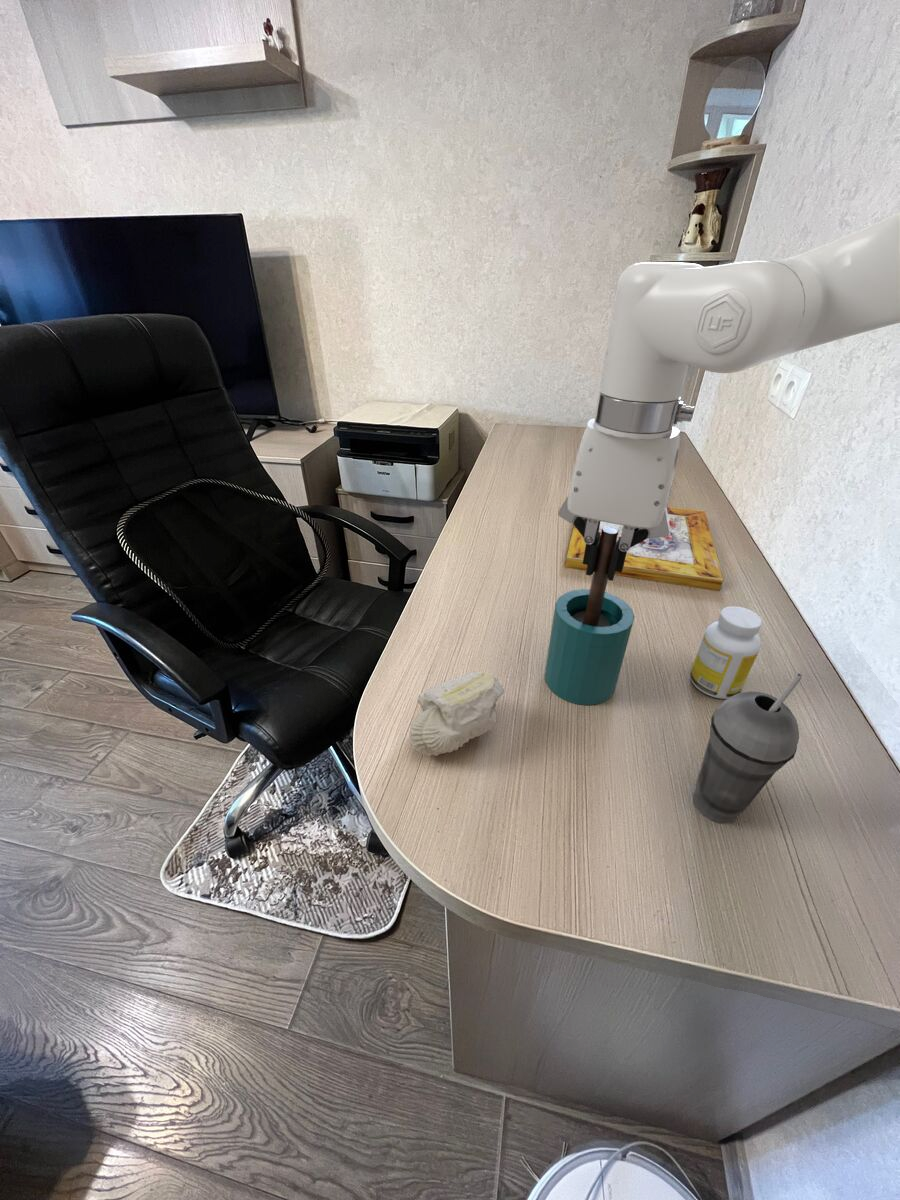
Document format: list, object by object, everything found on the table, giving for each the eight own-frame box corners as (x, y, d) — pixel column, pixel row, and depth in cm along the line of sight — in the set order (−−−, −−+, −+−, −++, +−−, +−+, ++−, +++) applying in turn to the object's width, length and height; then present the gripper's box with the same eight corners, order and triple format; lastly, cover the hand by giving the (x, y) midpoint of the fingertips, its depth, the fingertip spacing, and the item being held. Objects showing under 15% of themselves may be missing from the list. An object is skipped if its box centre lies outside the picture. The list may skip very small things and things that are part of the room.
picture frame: (705, 511, 111) (723, 580, 87) (702, 520, 112) (719, 590, 88) (580, 496, 117) (566, 557, 94) (579, 504, 118) (565, 567, 95)
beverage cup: (715, 767, 58) (781, 631, 46) (769, 822, 52) (859, 683, 41) (665, 787, 56) (721, 649, 44) (715, 846, 50) (794, 706, 39)
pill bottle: (742, 679, 70) (773, 611, 63) (736, 708, 65) (769, 639, 59) (693, 662, 73) (717, 596, 66) (684, 689, 68) (709, 621, 62)
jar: (620, 668, 72) (639, 599, 65) (608, 714, 64) (627, 642, 58) (555, 650, 75) (565, 582, 68) (536, 691, 68) (546, 621, 61)
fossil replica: (392, 749, 60) (465, 789, 56) (389, 707, 54) (470, 748, 51) (442, 682, 68) (509, 714, 65) (444, 639, 63) (517, 671, 59)
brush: (607, 640, 67) (635, 525, 58) (600, 661, 64) (628, 543, 54) (572, 630, 69) (593, 517, 59) (563, 651, 65) (584, 534, 56)
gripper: (723, 413, 49) (674, 572, 60) (565, 396, 55) (545, 545, 65) (722, 434, 44) (668, 605, 54) (546, 413, 49) (528, 572, 60)
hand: (601, 571), depth 60 cm, fingers closed on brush
